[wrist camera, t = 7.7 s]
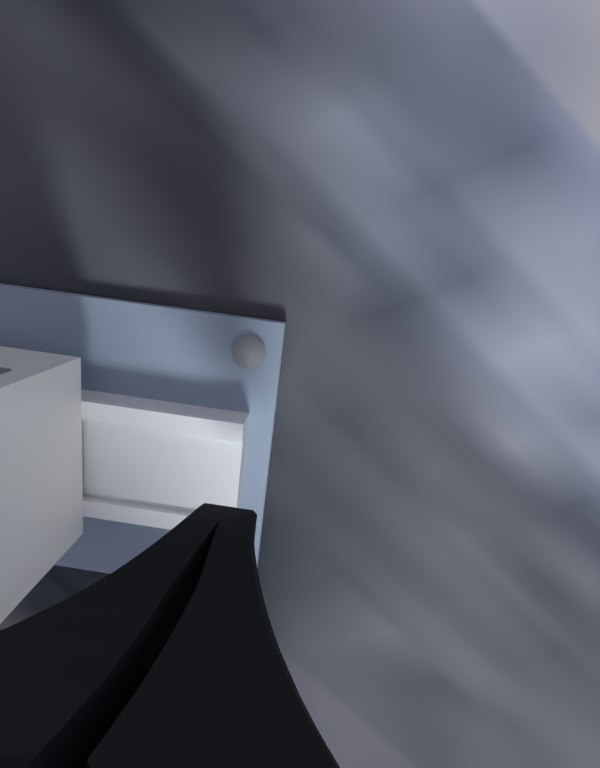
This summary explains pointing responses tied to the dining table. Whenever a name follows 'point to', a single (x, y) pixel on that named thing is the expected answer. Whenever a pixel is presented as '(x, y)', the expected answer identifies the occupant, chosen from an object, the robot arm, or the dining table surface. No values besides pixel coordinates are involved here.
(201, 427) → the rail panel
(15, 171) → the dining table surface
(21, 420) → the module
